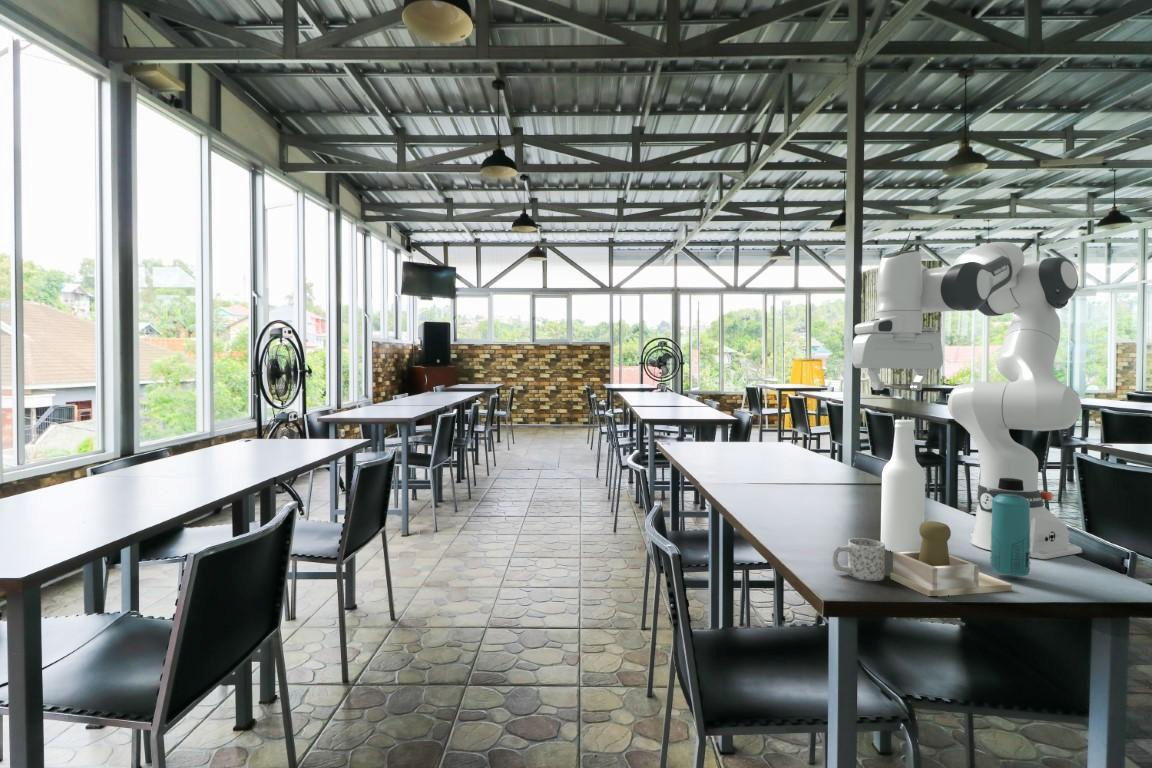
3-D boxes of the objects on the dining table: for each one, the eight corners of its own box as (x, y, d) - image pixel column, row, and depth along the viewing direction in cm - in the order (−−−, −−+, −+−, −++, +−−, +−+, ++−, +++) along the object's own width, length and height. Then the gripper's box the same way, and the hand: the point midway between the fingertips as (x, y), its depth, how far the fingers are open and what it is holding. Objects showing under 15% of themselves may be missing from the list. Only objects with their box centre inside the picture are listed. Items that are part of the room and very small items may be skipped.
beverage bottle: (1031, 586, 116) (1034, 482, 116) (989, 579, 120) (992, 479, 120) (1028, 576, 122) (1030, 477, 122) (988, 570, 126) (990, 474, 125)
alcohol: (932, 554, 136) (935, 421, 136) (895, 555, 135) (898, 421, 135) (907, 543, 145) (910, 418, 144) (872, 544, 144) (875, 418, 143)
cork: (957, 586, 113) (958, 527, 112) (921, 583, 114) (922, 525, 114) (945, 575, 118) (946, 519, 118) (911, 572, 120) (912, 517, 120)
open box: (967, 573, 124) (967, 548, 124) (1011, 590, 114) (1012, 563, 114) (890, 578, 120) (891, 552, 120) (929, 597, 110) (930, 568, 110)
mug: (874, 570, 125) (875, 538, 125) (890, 581, 118) (891, 547, 118) (825, 569, 125) (826, 537, 125) (838, 580, 119) (839, 546, 119)
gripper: (928, 328, 136) (927, 389, 136) (847, 325, 132) (846, 389, 132) (951, 326, 130) (949, 390, 130) (867, 323, 125) (866, 390, 126)
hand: (897, 390), depth 131 cm, fingers open, 8 cm apart
